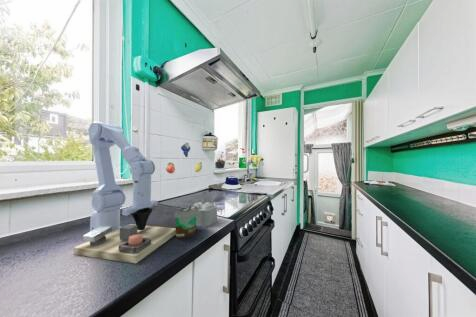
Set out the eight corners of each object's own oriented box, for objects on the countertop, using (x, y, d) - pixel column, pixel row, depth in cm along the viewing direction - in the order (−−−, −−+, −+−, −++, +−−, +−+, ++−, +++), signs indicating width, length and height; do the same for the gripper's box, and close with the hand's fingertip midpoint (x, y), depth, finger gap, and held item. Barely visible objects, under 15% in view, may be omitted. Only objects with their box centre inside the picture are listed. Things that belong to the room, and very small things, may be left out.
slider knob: (119, 239, 55) (119, 227, 55) (127, 235, 58) (127, 224, 58) (129, 240, 54) (130, 228, 54) (137, 236, 57) (137, 225, 57)
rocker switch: (83, 240, 51) (82, 235, 50) (102, 229, 56) (102, 225, 56) (94, 242, 50) (93, 237, 50) (112, 230, 56) (112, 226, 55)
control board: (73, 254, 50) (73, 242, 50) (129, 228, 69) (129, 220, 69) (135, 263, 45) (136, 250, 45) (176, 233, 65) (177, 224, 65)
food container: (189, 241, 58) (189, 213, 59) (173, 240, 59) (174, 211, 60) (203, 228, 70) (203, 204, 71) (190, 227, 72) (190, 204, 72)
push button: (125, 248, 49) (125, 238, 49) (135, 243, 52) (135, 233, 52) (135, 250, 48) (136, 239, 48) (145, 244, 52) (145, 234, 52)
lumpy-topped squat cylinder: (205, 228, 71) (205, 207, 71) (183, 222, 77) (184, 204, 78) (219, 220, 80) (219, 202, 80) (199, 216, 86) (199, 200, 87)
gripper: (135, 196, 54) (134, 239, 53) (164, 190, 68) (163, 223, 68) (117, 195, 55) (116, 236, 55) (149, 189, 70) (148, 222, 69)
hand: (141, 229), depth 61 cm, fingers closed
